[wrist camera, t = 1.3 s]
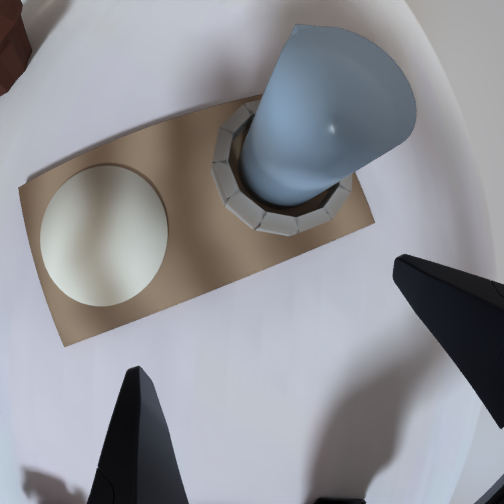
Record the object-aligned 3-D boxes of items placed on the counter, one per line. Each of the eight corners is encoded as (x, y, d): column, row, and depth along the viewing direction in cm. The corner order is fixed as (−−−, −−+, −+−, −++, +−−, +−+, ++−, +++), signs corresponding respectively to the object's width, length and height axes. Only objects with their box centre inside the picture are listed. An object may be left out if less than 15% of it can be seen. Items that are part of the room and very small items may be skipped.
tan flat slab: (308, 90, 24) (320, 72, 22) (368, 224, 25) (388, 219, 22) (23, 190, 20) (5, 181, 17) (69, 344, 20) (53, 353, 17)
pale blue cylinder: (327, 204, 23) (433, 150, 11) (245, 215, 22) (302, 152, 10) (303, 105, 23) (372, 9, 11) (227, 108, 22) (256, -7, 10)
